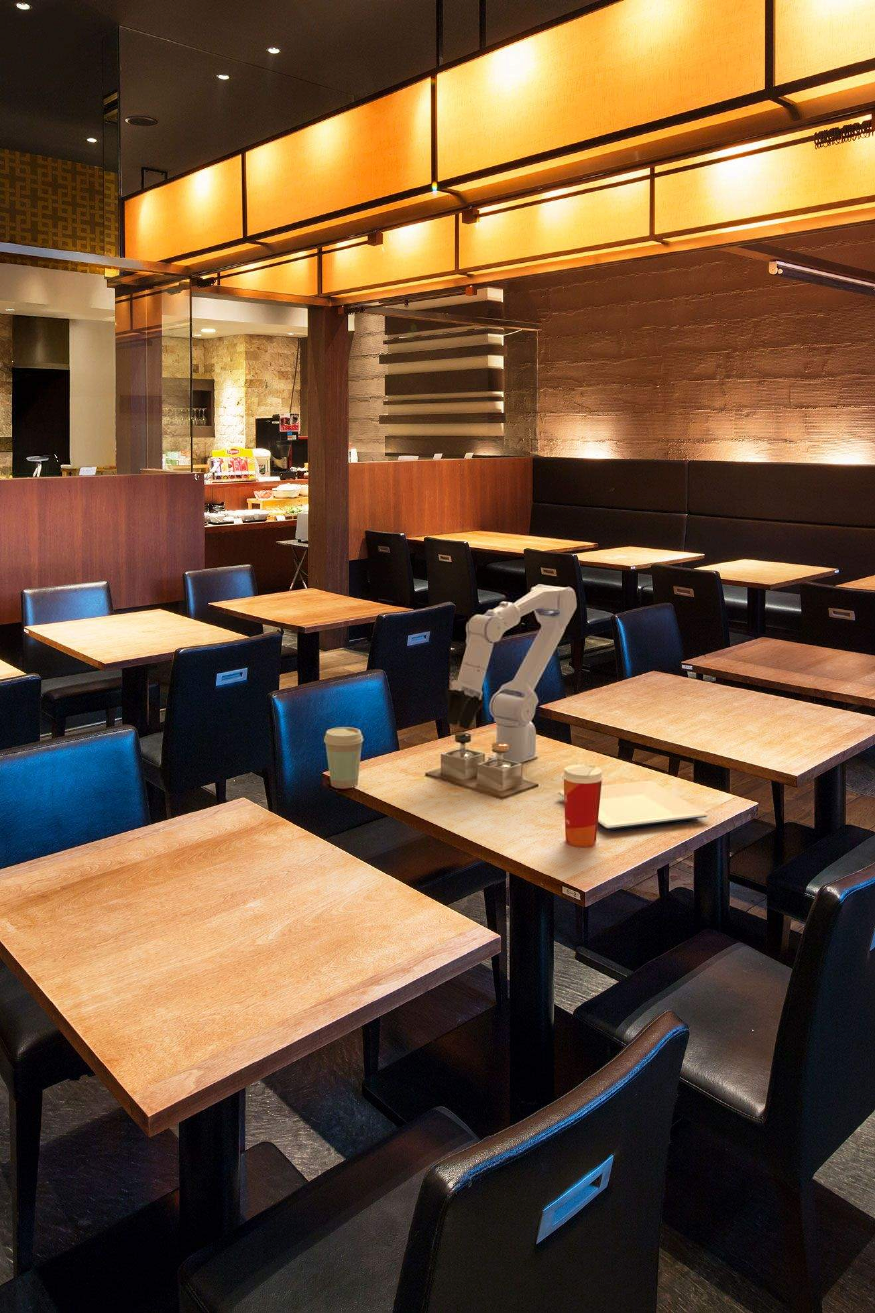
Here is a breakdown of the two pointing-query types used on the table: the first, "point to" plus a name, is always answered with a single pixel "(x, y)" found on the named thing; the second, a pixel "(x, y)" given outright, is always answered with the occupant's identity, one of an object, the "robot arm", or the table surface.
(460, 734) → the black plunger
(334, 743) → the coffee cup
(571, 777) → the paper cup
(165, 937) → the table surface
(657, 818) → the plate
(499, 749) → the copper plunger
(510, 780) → the press stand
